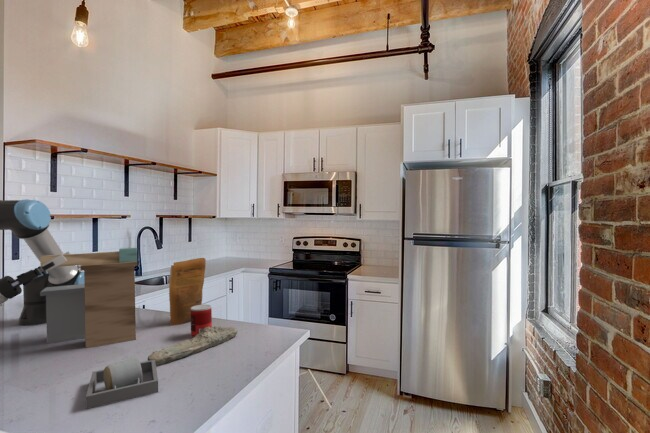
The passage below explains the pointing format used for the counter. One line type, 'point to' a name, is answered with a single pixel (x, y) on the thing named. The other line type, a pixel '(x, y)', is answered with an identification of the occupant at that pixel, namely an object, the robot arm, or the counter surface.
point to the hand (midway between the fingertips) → (67, 255)
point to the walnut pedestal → (109, 303)
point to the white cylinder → (123, 373)
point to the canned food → (200, 318)
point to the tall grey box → (65, 312)
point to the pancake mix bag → (185, 289)
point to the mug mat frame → (121, 388)
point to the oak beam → (95, 257)
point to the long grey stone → (193, 344)
